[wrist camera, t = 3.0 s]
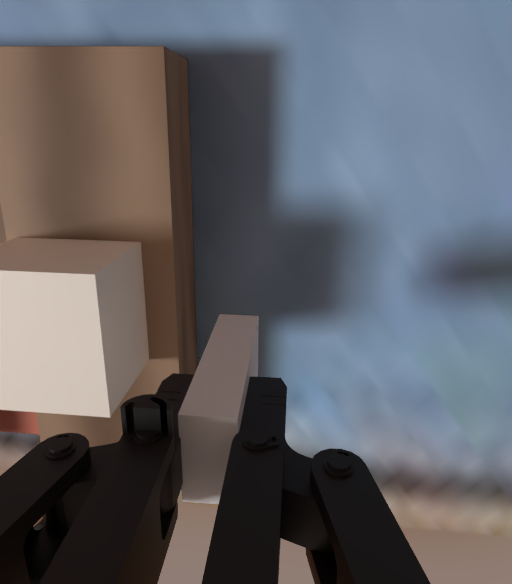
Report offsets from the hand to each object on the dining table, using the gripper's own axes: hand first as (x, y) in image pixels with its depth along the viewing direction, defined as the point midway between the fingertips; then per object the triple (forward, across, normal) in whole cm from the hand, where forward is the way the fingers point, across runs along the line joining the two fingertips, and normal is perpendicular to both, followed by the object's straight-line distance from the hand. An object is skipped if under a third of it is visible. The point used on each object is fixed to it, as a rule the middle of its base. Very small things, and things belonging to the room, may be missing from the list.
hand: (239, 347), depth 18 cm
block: (+4, +8, 0) cm, 9 cm away
